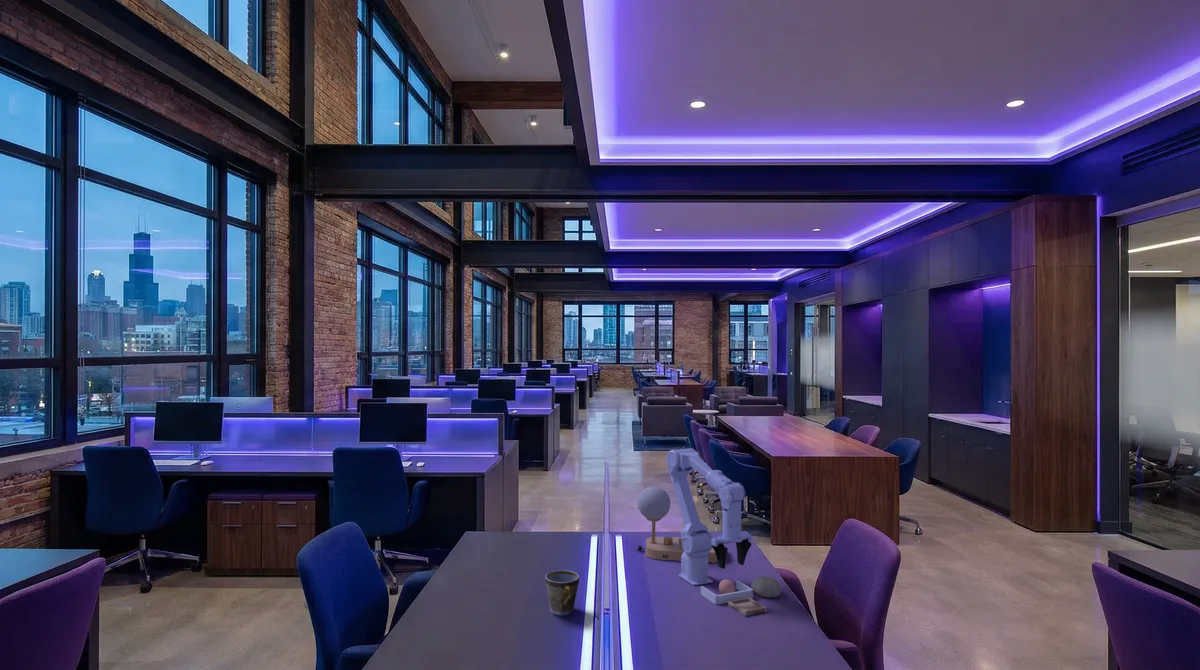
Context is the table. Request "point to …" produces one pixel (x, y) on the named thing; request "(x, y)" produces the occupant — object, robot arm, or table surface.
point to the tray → (747, 606)
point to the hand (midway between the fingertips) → (731, 565)
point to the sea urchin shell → (766, 587)
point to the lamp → (654, 509)
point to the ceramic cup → (562, 591)
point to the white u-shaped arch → (729, 594)
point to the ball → (726, 587)
